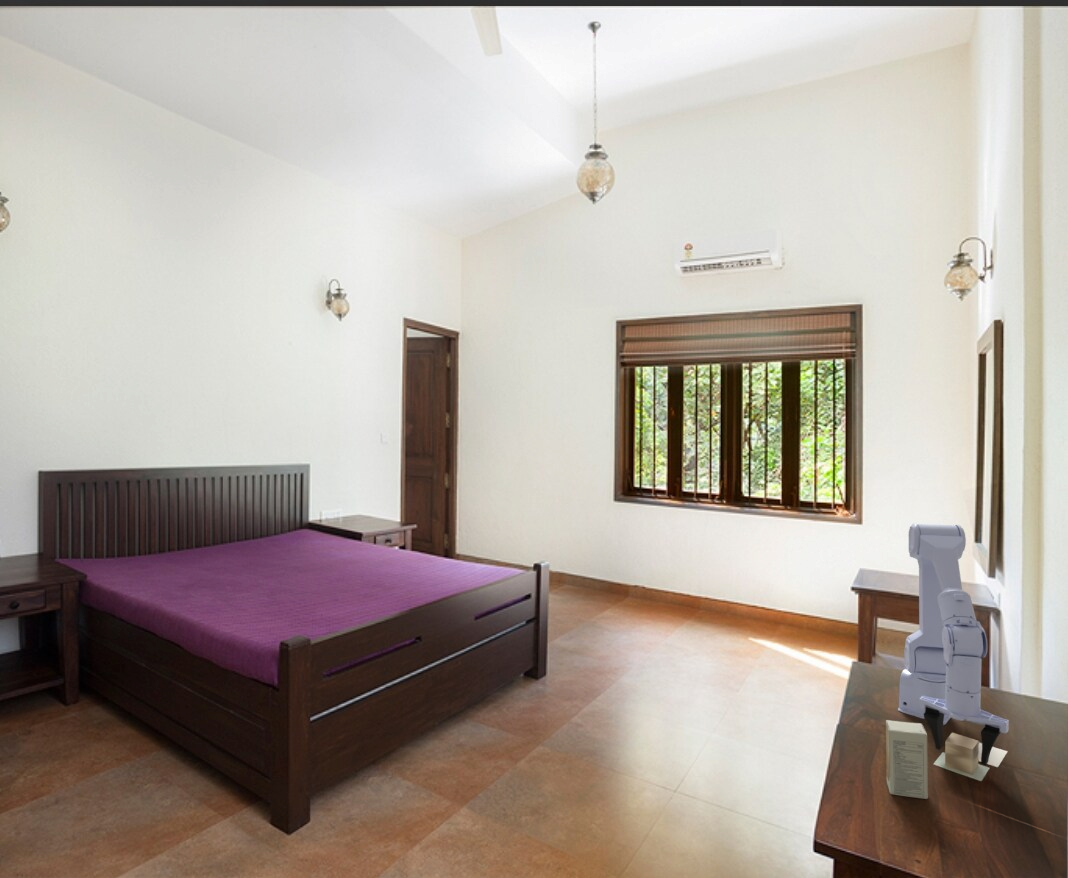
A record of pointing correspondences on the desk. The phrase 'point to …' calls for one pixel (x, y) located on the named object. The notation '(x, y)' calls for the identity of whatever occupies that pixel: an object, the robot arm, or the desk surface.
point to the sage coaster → (977, 774)
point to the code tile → (993, 755)
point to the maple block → (961, 753)
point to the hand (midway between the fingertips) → (961, 754)
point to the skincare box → (906, 759)
